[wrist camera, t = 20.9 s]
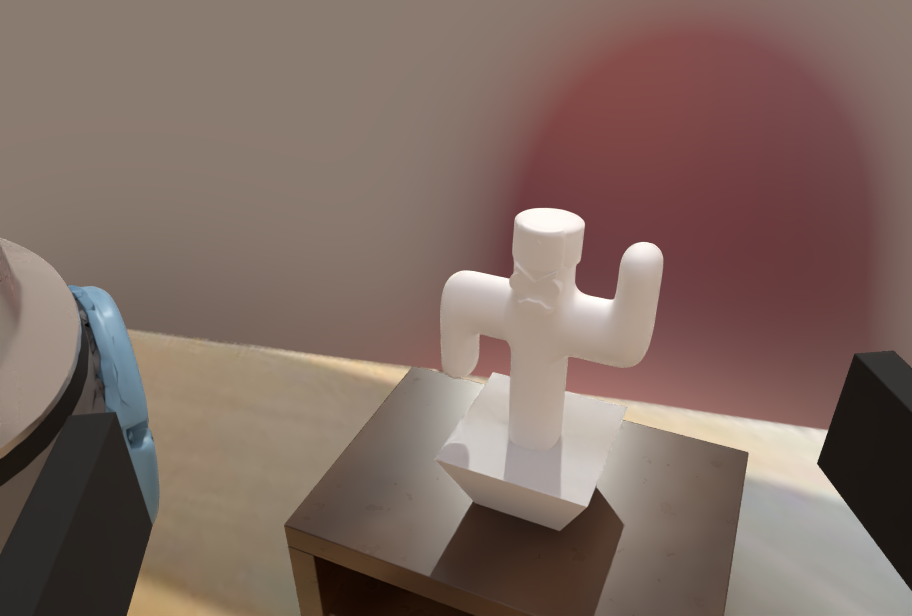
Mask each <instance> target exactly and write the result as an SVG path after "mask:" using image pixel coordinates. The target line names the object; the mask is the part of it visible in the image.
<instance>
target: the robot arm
mask: <svg viewBox="0 0 912 616" xmlns="http://www.w3.org/2000/svg"><path fill="white" fill-rule="evenodd" d="M148 422H149V418H148V412H147V403H146V397H145V393H144V388H143V384H142V380H141V376H140V372H139V369H138V365H137V361H136V358H135V354H134V351H133V348H132V344H131V341H130V338H129V335H128V332H127V329H126V327H125V324H124V322H123V320H122V317H121V314H120V312H119V310H118V308H117V306H116V304H115V302H114V300H113V299H112V297H111V296H110V295H109V294H108V293H107V292H105V291H104V290H102V289H100V288H97V287H95V286H88V287H77V286H75V285H66V284H65V282H64V281H63V279H62V278H61V277H60V275H59V274H58V273H57V272H56V270H55V269H54V268H53V267H52V266H51V265H50V264H48V263H47V262H46V261H45V260H43V259H42V258H41V257H40V256H38V255H37V254H35V253H33V252H31V251H29V250H28V249H26V248H24V247H22V246H20V245H17V244H15V243H13V242H10V241H8V240H5V239H2V238H0V616H127V612H128V609H129V606H130V602H131V599H132V595H133V592H134V588H135V585H136V581H137V578H138V574H139V571H140V567H141V564H142V561H143V557H144V554H145V550H146V547H147V543H148V540H149V536H150V533H151V529H152V526H153V524H154V522H155V519H156V517H157V513H158V508H159V475H158V465H157V457H156V451H155V445H154V440H153V437H152V434H151V431H150V429H149V428H148ZM817 464H818V466H819V467H820V468H821V470H822V471H823V472H824V474H825V475H826V476H827V478H828V479H829V480H830V482H831V483H832V485H833V486H834V487H835V489H836V490H837V491H838V493H839V494H840V495H841V497H842V498H843V499H844V501H845V502H846V503H847V505H848V506H849V507H850V509H851V510H852V511H853V513H854V514H855V515H856V517H857V518H858V519H859V521H860V522H861V524H862V525H863V526H864V528H865V529H866V530H867V532H868V533H869V534H870V536H871V537H872V538H873V540H874V541H875V542H876V544H877V545H878V546H879V548H880V549H881V550H882V552H883V553H884V554H885V556H886V557H887V559H888V560H889V561H890V563H891V564H892V565H893V567H894V568H895V569H896V571H897V572H898V573H899V575H900V576H901V577H902V579H903V580H904V581H905V583H906V584H907V585H908V587H909V588H910V589H911V591H912V368H911V367H910V366H909V365H908V364H907V363H906V362H905V361H904V360H903V359H902V358H901V357H900V356H899V355H897V353H895V352H894V351H882V352H870V353H857V354H854V357H853V360H852V363H851V366H850V368H849V371H848V374H847V377H846V380H845V384H844V386H843V389H842V392H841V395H840V398H839V401H838V404H837V407H836V410H835V412H834V415H833V418H832V422H831V424H830V427H829V430H828V433H827V436H826V439H825V442H824V445H823V448H822V451H821V454H820V456H819V459H818V462H817Z"/></svg>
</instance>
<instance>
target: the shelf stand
mask: <svg viewBox="0 0 912 616" xmlns="http://www.w3.org/2000/svg"><path fill="white" fill-rule="evenodd" d="M484 385H485V384H482V383H478V382H474V381H470V380H466V379H463V378H452V377H449V376H448V375H446V374H443V373H439V372H435V371H432V370H428V369H424V368H420V367H416V366H413V367H412V368H411V369H410V370H409V372H408V373H407V374H406V375H405V377H404V378H403V379H402V380H401V381H400V383H399V384H398V385H397V386H396V388H395V389H394V390H393V391H392V393H391V394H390V395H389V396H388V397H387V399H386V400H385V401H384V402H383V404H382V405H381V406H380V407H379V409H378V410H377V411H376V412H375V414H374V415H373V416H372V417H371V418H370V420H369V421H368V422H367V423H366V425H365V426H364V427H363V428H362V430H361V431H360V432H359V433H358V434H357V436H356V437H355V438H354V439H353V441H352V442H351V443H350V444H349V446H348V447H347V448H346V449H345V450H344V452H343V453H342V454H341V455H340V457H339V458H338V459H337V460H336V462H335V463H334V464H333V465H332V466H331V468H330V469H329V470H328V471H327V473H326V474H325V475H324V476H323V478H322V479H321V480H320V481H319V483H318V484H317V485H316V486H315V487H314V489H313V490H312V491H311V492H310V494H309V495H308V496H307V497H306V499H305V500H304V501H303V502H302V503H301V505H300V506H299V507H298V508H297V510H296V511H295V512H294V513H293V515H292V516H291V517H290V518H289V519H288V521H287V522H286V523H285V525H284V527H285V532H286V537H287V543H288V545H289V546H288V548H289V554H290V559H291V564H292V569H293V575H294V580H295V585H296V591H297V596H298V601H299V607H300V612H301V616H724V612H725V605H726V599H727V592H728V585H729V579H730V572H731V566H732V559H733V553H734V546H735V539H736V533H737V526H738V520H739V513H740V507H741V500H742V493H743V487H744V480H745V474H746V467H747V461H748V452H745V451H741V450H737V449H734V448H730V447H726V446H722V445H718V444H714V443H710V442H706V441H703V440H699V439H695V438H691V437H687V436H683V435H679V434H675V433H672V432H668V431H664V430H660V429H656V428H652V427H648V426H644V425H641V424H637V423H633V422H629V421H625V420H622V422H621V425H620V427H619V430H618V432H617V435H616V437H615V439H614V442H613V444H612V447H611V449H610V452H609V454H608V457H607V459H606V462H605V464H604V467H603V469H602V472H601V474H600V477H599V479H598V482H597V484H596V487H595V489H594V492H593V494H592V497H591V499H590V502H589V504H588V507H587V508H586V509H585V510H583V511H582V512H581V513H580V514H579V515H578V516H576V517H575V518H574V519H573V520H572V521H571V522H570V523H568V524H567V525H566V526H565V527H564V528H563V529H562V530H560V531H558V530H555V529H552V528H549V527H546V526H543V525H540V524H537V523H534V522H531V521H528V520H525V519H522V518H519V517H516V516H513V515H510V514H507V513H504V512H500V511H497V510H494V509H491V508H488V507H485V506H482V505H479V504H476V503H475V502H474V501H473V500H472V499H471V498H470V497H469V496H468V494H467V493H466V492H465V491H464V490H463V489H462V488H461V487H460V486H459V485H458V484H457V483H456V482H455V480H454V479H453V478H452V477H451V476H450V475H449V474H448V473H447V472H446V471H445V470H444V469H443V467H442V466H441V465H440V464H439V463H438V462H437V461H436V460H435V458H436V456H437V455H438V453H439V452H440V450H441V449H442V447H443V446H444V445H445V443H446V442H447V440H448V439H449V437H450V436H451V434H452V433H453V431H454V430H455V428H456V427H457V425H458V424H459V422H460V421H461V419H462V418H463V416H464V415H465V413H466V412H467V411H468V409H469V408H470V406H471V405H472V403H473V402H474V400H475V399H476V397H477V396H478V394H479V393H480V391H481V390H482V388H483V387H484Z"/></svg>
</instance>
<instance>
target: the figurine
mask: <svg viewBox="0 0 912 616" xmlns="http://www.w3.org/2000/svg"><path fill="white" fill-rule="evenodd" d="M584 227H585V223H584V221H583V220H582V219H581V218H580V217H579V216H577V215H575V214H573V213H571V212H568V211H564V210H559V209H551V208H536V209H530V210H526V211H523V212H521V213H519V214H518V215H517V216H516V217H515V223H514V236H513V250H512V254H513V257H514V273H513V274H512V276H511V277H510V279H508V278H503V277H498V276H494V275H489V274H484V273H480V272H474V271H460V272H457V273H455V274H454V275H452V276H451V277H450V278H449V279H448V281H447V282H446V285H445V287H444V290H443V294H442V299H441V309H440V325H441V362H442V368H443V371H444V372H445V374H446V375H448V376H449V377H452V378H462V377H465V376H467V375H468V374H470V372H472V371H473V370H474V368H475V366H476V364H477V362H478V357H479V336H480V334H482V335H486V336H490V337H494V338H498V339H503V340H506V341H507V342H508V344H509V346H510V348H511V370H510V376H506V375H502V374H498V373H494V372H493V374H492V375H491V377H490V378H489V379H488V381H487V382H486V384H485V385H484V387H483V388H482V390H481V391H480V393H479V394H478V396H477V397H476V399H475V400H474V402H473V403H472V405H471V406H470V408H469V409H468V411H467V412H466V413H465V415H464V416H463V418H462V419H461V421H460V422H459V424H458V425H457V427H456V428H455V430H454V431H453V433H452V434H451V436H450V437H449V439H448V440H447V442H446V443H445V445H444V446H443V447H442V449H441V450H440V452H439V453H438V455H437V456H436V458H435V460H436V461H437V462H438V463H439V464H440V465H441V466H442V467H443V469H444V470H445V471H446V472H447V473H448V474H449V475H450V476H451V477H452V478H453V479H454V480H455V482H456V483H457V484H458V485H459V486H460V487H461V488H462V489H463V490H464V491H465V492H466V493H467V494H468V496H469V497H470V498H471V499H472V500H473V501H474V502H475V503H476V504H479V505H482V506H485V507H488V508H491V509H494V510H497V511H500V512H504V513H507V514H510V515H513V516H516V517H519V518H522V519H525V520H528V521H531V522H534V523H537V524H540V525H543V526H546V527H549V528H552V529H555V530H558V531H560V530H562V529H563V528H564V527H565V526H566V525H567V524H568V523H570V522H571V521H572V520H573V519H574V518H575V517H576V516H578V515H579V514H580V513H581V512H582V511H583V510H585V509H586V508H587V507H588V504H589V502H590V499H591V497H592V494H593V492H594V489H595V487H596V484H597V482H598V479H599V477H600V474H601V472H602V469H603V467H604V464H605V462H606V459H607V457H608V454H609V452H610V449H611V447H612V444H613V442H614V439H615V437H616V435H617V432H618V430H619V427H620V425H621V422H622V420H623V417H624V415H625V412H626V410H627V407H625V406H621V405H617V404H613V403H610V402H606V401H602V400H598V399H594V398H590V397H587V396H583V395H579V394H575V393H571V392H567V391H565V387H566V376H567V364H568V357H577V358H581V359H585V360H589V361H594V362H597V363H602V364H605V365H610V366H614V367H620V368H626V367H631V366H634V365H636V364H637V363H639V362H640V361H641V360H642V359H643V357H644V355H645V353H646V352H647V349H648V347H649V344H650V340H651V337H652V333H653V328H654V322H655V316H656V310H657V303H658V297H659V291H660V284H661V277H662V270H663V256H662V253H661V251H660V249H659V248H658V247H657V246H655V245H654V244H651V243H647V242H641V243H636V244H634V245H632V246H631V247H629V248H628V249H627V251H626V252H625V253H624V255H623V258H622V261H621V264H620V270H619V277H618V285H617V291H616V295H615V299H613V300H608V299H603V298H598V297H593V296H589V295H586V294H583V293H582V292H580V291H579V290H578V289H577V287H576V285H575V271H576V265H577V263H579V261H580V259H581V252H582V244H583V235H584Z"/></svg>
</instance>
